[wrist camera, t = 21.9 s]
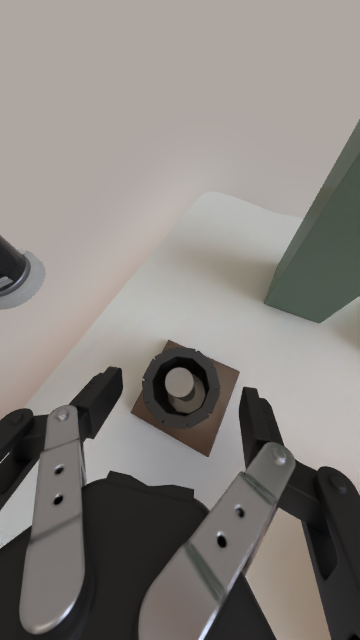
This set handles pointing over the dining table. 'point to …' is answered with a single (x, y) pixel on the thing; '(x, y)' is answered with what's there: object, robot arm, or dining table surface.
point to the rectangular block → (324, 246)
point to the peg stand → (192, 404)
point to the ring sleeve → (158, 394)
